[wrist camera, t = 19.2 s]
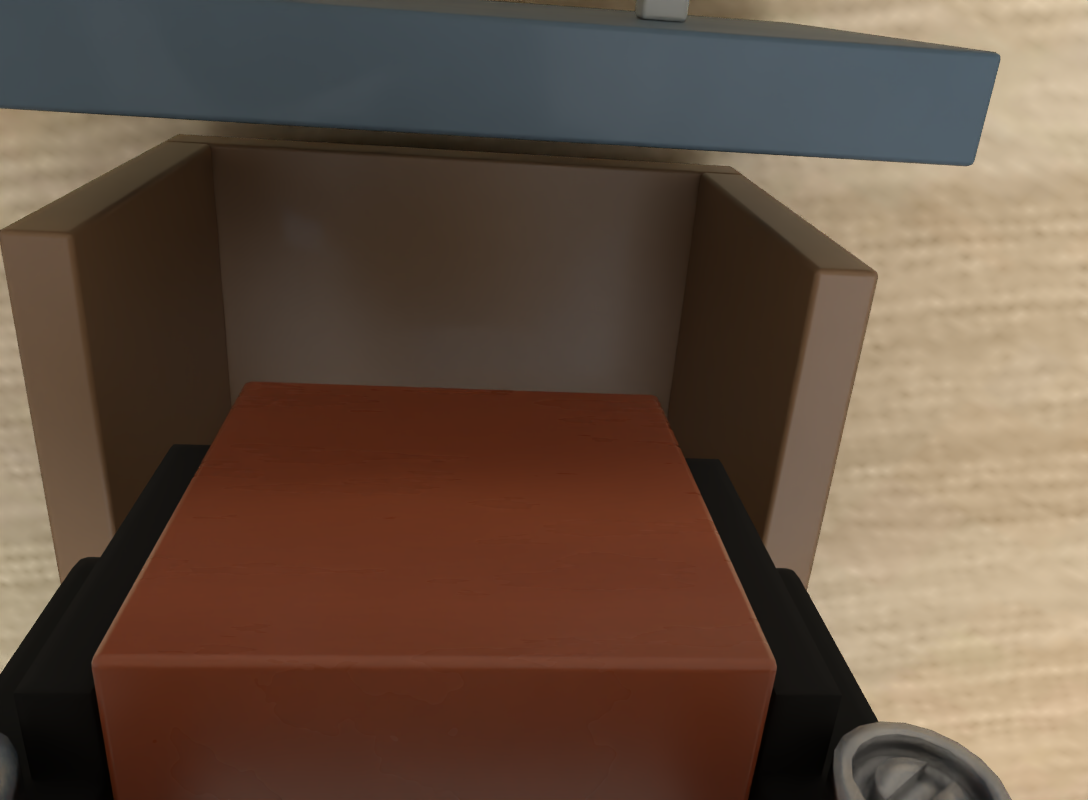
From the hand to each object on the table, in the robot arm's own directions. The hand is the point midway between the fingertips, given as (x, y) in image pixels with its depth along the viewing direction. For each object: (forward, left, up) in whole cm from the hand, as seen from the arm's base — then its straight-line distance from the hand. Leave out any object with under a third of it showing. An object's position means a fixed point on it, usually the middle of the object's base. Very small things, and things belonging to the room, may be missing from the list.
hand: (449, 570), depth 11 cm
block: (0, 0, 0) cm, 0 cm away
